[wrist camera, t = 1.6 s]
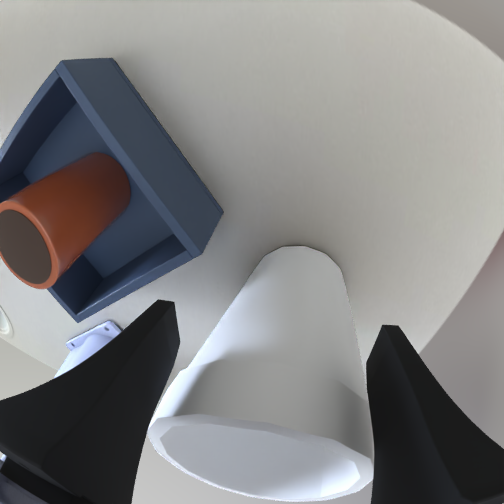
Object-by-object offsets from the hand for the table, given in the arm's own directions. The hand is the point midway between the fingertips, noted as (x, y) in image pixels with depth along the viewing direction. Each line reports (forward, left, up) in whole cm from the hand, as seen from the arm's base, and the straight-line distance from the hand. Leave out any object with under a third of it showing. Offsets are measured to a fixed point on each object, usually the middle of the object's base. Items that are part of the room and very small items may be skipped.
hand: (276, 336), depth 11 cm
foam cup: (-2, -5, -10) cm, 11 cm away
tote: (-9, +8, -10) cm, 16 cm away
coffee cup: (-9, +8, -10) cm, 16 cm away
